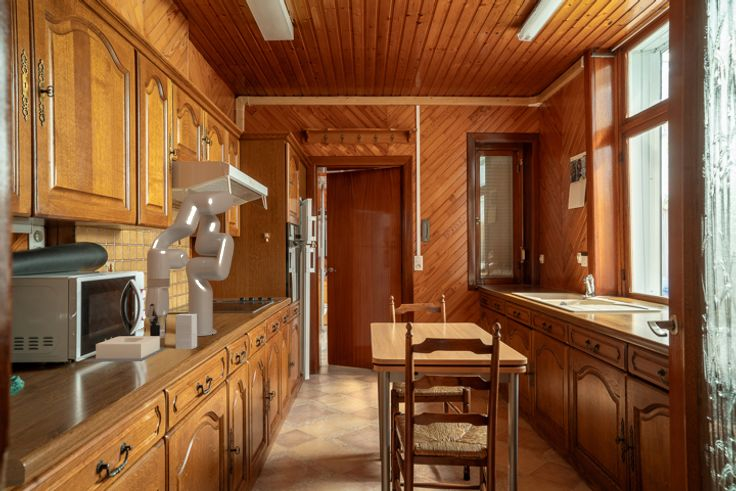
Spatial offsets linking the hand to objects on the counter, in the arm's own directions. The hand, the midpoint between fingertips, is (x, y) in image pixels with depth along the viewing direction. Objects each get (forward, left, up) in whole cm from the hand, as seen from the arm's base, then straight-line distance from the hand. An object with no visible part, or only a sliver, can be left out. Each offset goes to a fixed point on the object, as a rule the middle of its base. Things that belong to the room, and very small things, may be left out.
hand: (158, 334), depth 170 cm
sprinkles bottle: (0, 0, -5) cm, 5 cm away
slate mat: (+14, -4, -4) cm, 15 cm away
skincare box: (+3, +11, -5) cm, 12 cm away
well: (+13, -4, -4) cm, 14 cm away
